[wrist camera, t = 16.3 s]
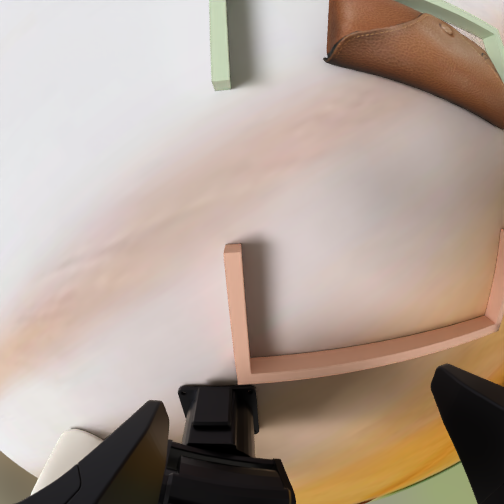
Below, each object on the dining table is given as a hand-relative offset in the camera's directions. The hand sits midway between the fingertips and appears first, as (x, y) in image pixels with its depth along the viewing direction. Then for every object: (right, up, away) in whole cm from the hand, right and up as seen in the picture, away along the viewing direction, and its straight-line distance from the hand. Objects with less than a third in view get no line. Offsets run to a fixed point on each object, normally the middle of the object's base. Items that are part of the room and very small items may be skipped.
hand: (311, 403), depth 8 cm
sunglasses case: (+12, +20, +8) cm, 25 cm away
